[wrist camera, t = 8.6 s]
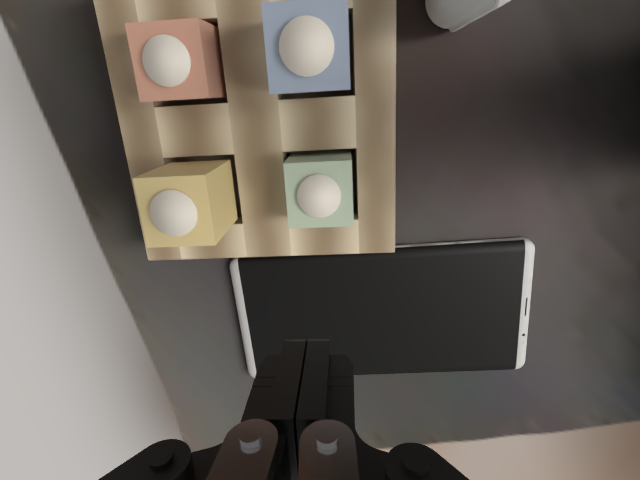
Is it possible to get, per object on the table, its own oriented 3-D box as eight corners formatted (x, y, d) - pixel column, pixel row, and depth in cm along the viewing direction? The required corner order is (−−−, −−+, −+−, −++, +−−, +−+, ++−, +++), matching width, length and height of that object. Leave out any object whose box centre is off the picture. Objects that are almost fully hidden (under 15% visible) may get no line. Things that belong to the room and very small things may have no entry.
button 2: (230, 159, 31) (203, 175, 25) (237, 218, 32) (214, 247, 27) (170, 162, 31) (129, 179, 25) (180, 220, 33) (144, 249, 27)
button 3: (346, 15, 27) (347, -6, 21) (349, 89, 29) (350, 89, 23) (277, 20, 28) (259, 1, 22) (283, 93, 29) (268, 94, 23)
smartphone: (231, 252, 39) (226, 259, 37) (529, 233, 37) (538, 240, 35) (252, 370, 43) (248, 381, 42) (518, 360, 41) (526, 371, 39)
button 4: (350, 148, 33) (352, 160, 27) (352, 204, 35) (353, 227, 29) (293, 151, 33) (282, 164, 27) (297, 206, 35) (288, 230, 29)
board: (389, -28, 30) (396, -47, 26) (389, 233, 37) (394, 252, 32) (123, -7, 31) (88, -22, 27) (169, 241, 38) (148, 260, 34)
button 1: (224, 31, 31) (196, 16, 25) (232, 96, 32) (207, 98, 26) (164, 35, 31) (122, 22, 25) (175, 100, 32) (137, 102, 27)
